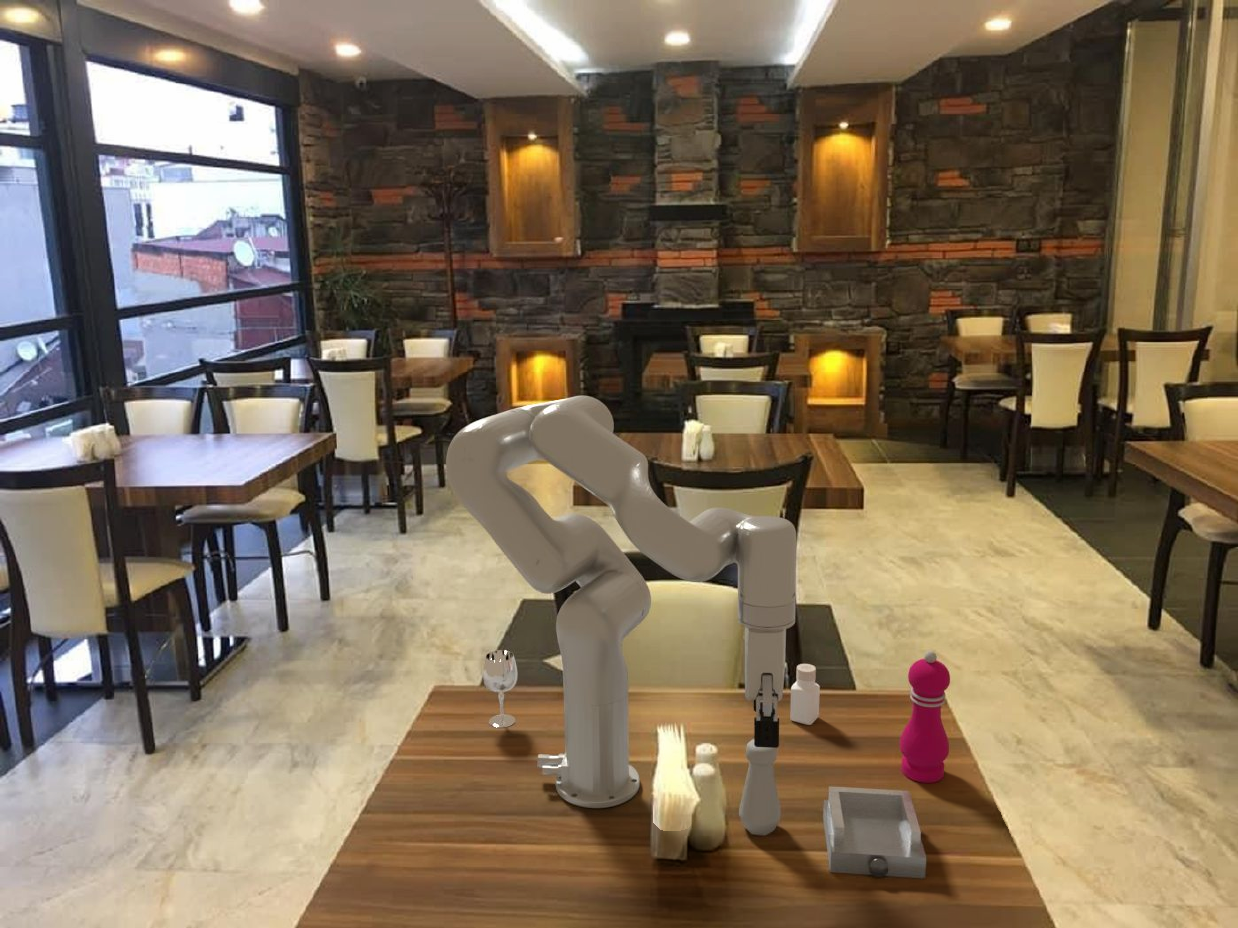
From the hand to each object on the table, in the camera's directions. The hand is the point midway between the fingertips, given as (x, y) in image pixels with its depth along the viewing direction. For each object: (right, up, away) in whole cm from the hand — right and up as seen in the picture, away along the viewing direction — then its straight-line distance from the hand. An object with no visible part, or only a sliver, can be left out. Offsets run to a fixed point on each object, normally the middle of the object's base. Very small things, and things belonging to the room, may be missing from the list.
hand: (765, 728), depth 136 cm
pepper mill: (+27, -12, +17) cm, 34 cm away
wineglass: (-40, -8, +34) cm, 53 cm away
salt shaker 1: (0, -15, +4) cm, 16 cm away
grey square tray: (+14, -16, -1) cm, 21 cm away
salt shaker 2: (+11, -8, +34) cm, 37 cm away
